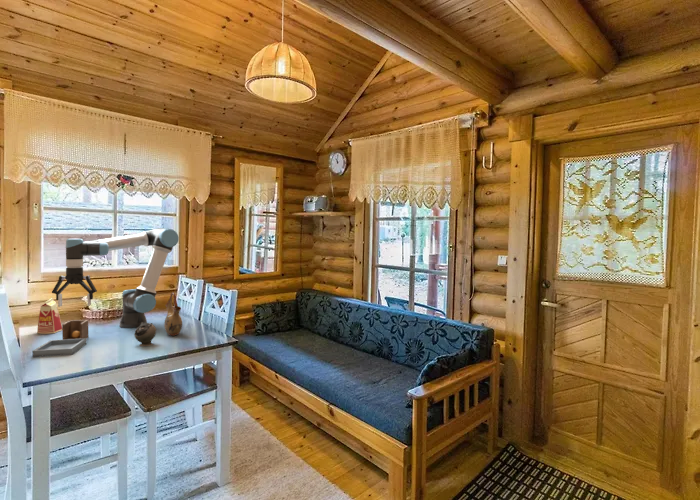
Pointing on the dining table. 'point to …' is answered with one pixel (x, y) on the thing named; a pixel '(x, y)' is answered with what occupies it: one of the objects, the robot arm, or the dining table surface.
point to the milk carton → (49, 318)
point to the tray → (59, 347)
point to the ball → (76, 334)
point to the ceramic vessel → (173, 318)
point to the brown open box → (75, 329)
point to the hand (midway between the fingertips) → (74, 305)
